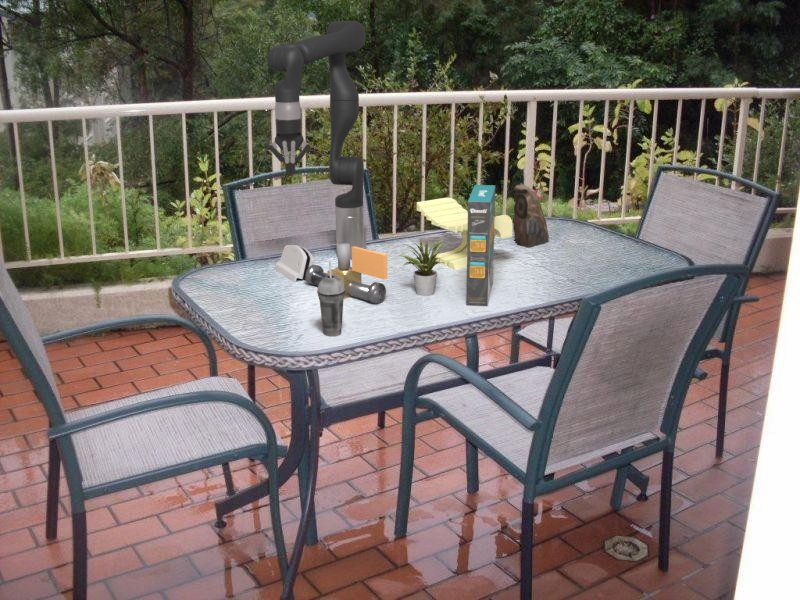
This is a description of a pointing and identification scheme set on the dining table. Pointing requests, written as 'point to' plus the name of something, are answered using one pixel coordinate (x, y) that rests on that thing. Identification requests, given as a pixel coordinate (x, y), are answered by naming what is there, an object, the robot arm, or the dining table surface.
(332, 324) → the beverage cup
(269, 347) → the dining table surface
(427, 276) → the house plant
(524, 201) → the owl
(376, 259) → the lever
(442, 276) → the dining table surface
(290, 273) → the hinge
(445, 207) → the slatted curved stool
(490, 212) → the cake mix box
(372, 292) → the valve
